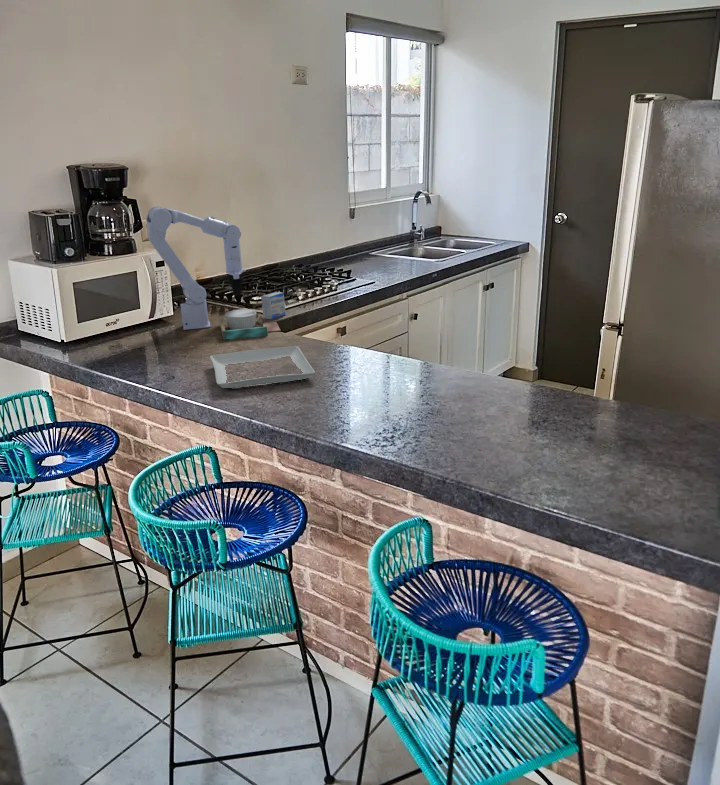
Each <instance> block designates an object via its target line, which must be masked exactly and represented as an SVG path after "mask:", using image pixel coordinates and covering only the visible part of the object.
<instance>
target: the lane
mask: <svg viewBox="0 0 720 785" xmlns="http://www.w3.org/2000/svg"><path fill="white" fill-rule="evenodd" d="M257 318H258V324H259V325H262V326H257V327H255V326H254V327H253V328H246V329H236V330H232V329H228V330H226V327H225V323H224V319H223V317H222V316H221V317H219V326H220V330H221V335H222V338H223V341H226V340H225V339H230V340H236V339H235V338H240V339H247V338H246V337H249V338H258V337H266V336H269V334H268V333H273V332H282V331H281V328H280V327H279V324H278V323H277V321H272V322H263V314H261V313H257Z"/></svg>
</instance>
